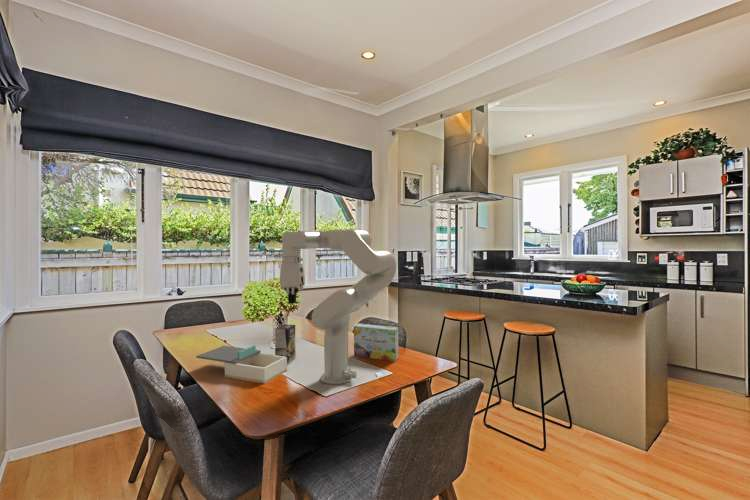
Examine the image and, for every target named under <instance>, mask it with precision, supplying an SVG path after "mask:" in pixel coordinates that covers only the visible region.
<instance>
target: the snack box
mask: <svg viewBox="0 0 750 500" xmlns="http://www.w3.org/2000/svg"><path fill="white" fill-rule="evenodd" d="M353 356H354V357H360V358H368V359H374V360H381V361H388V362H396V361H397V360H398V359H399V327H398V326H395V327H394V326H387V325H386V326H385V325H378V324H377V325H375V324H367V323H356V324H354V325H353Z"/></svg>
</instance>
